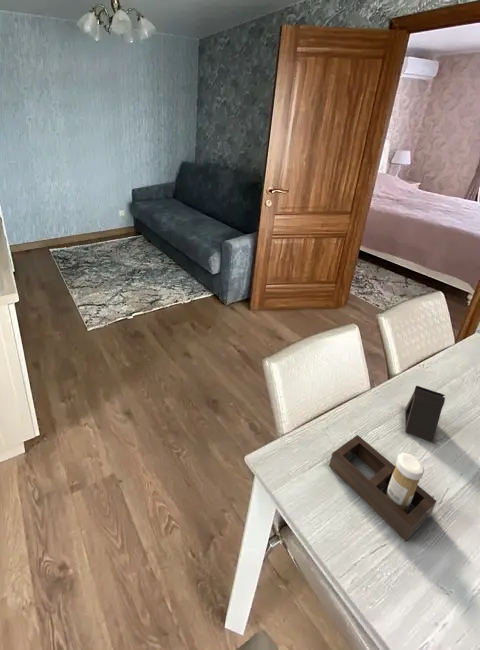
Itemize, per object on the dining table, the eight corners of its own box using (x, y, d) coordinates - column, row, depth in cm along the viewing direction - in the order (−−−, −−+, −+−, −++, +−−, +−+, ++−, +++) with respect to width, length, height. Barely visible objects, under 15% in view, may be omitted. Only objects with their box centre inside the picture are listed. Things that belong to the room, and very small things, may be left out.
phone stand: (405, 409, 98) (416, 376, 94) (430, 418, 95) (443, 385, 91) (405, 432, 91) (417, 398, 87) (432, 443, 88) (446, 408, 84)
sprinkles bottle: (412, 516, 73) (430, 473, 67) (391, 517, 72) (407, 474, 67) (398, 493, 77) (414, 451, 72) (378, 494, 77) (393, 452, 72)
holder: (353, 447, 87) (357, 434, 85) (430, 514, 73) (436, 500, 71) (328, 465, 83) (332, 452, 81) (405, 541, 68) (411, 527, 67)
